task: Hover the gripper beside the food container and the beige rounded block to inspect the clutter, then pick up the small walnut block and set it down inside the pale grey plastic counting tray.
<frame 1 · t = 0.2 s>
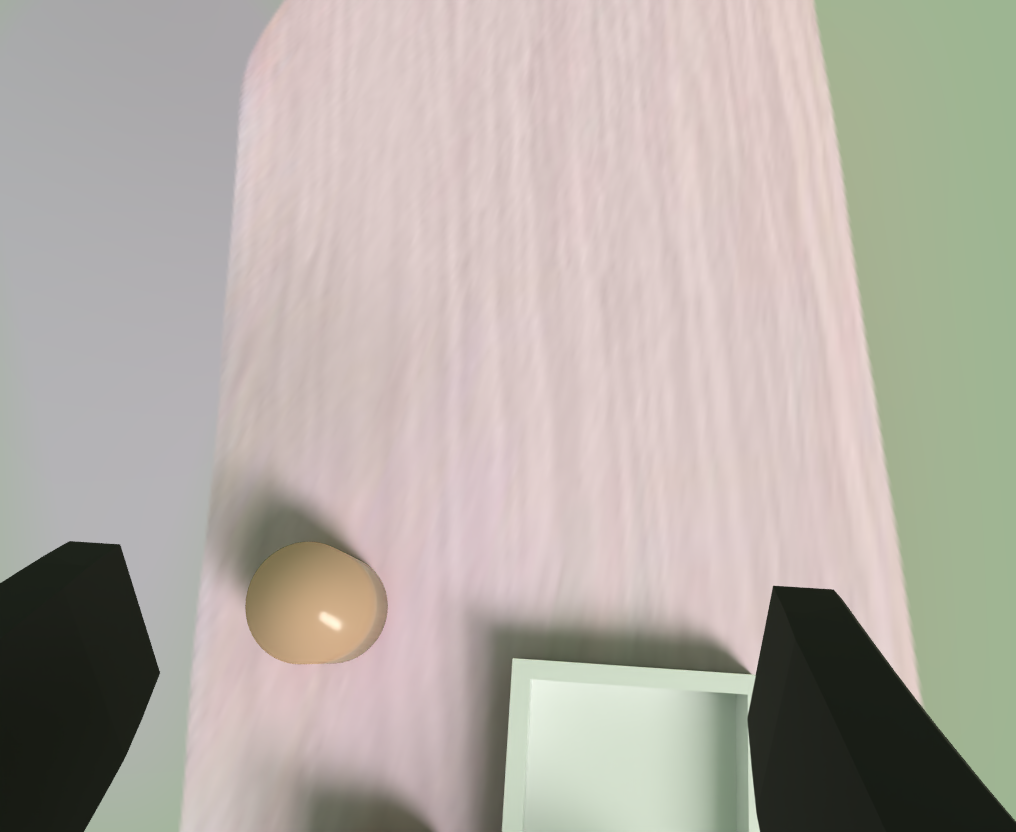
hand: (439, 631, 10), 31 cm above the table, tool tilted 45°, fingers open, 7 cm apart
beige rounded block: (335, 608, 40), on the table
counting tray: (629, 792, 37), on the table
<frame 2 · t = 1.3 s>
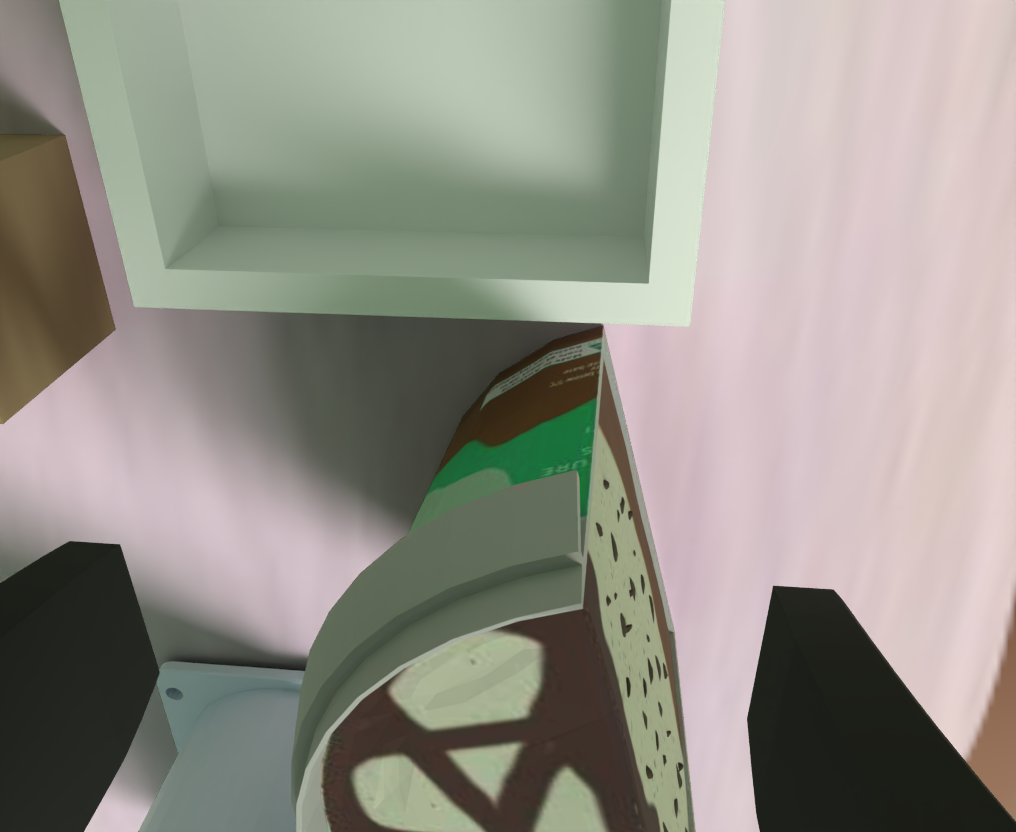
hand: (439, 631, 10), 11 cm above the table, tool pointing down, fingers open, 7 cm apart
food container: (523, 508, 22), on the table
walnut block: (0, 234, 20), on the table
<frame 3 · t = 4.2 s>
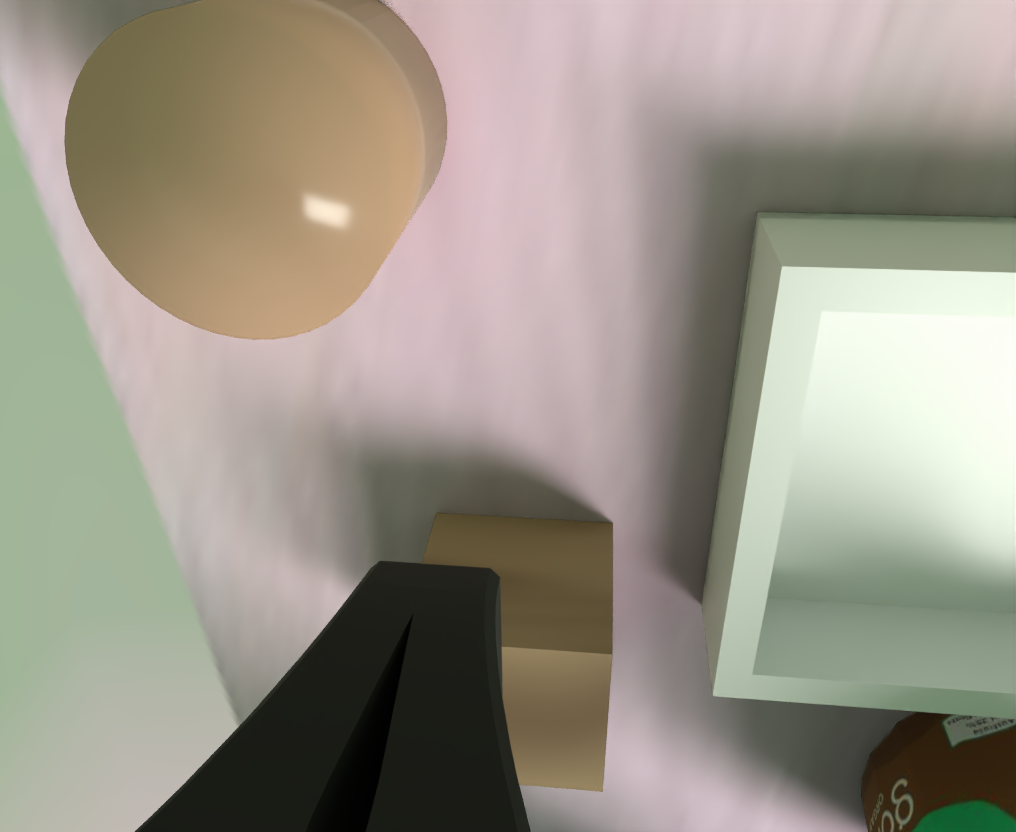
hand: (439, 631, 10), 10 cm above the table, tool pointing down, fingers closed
food container: (926, 783, 25), on the table
beige rounded block: (323, 118, 17), on the table
counting tray: (964, 447, 19), on the table
walnut block: (524, 582, 23), on the table
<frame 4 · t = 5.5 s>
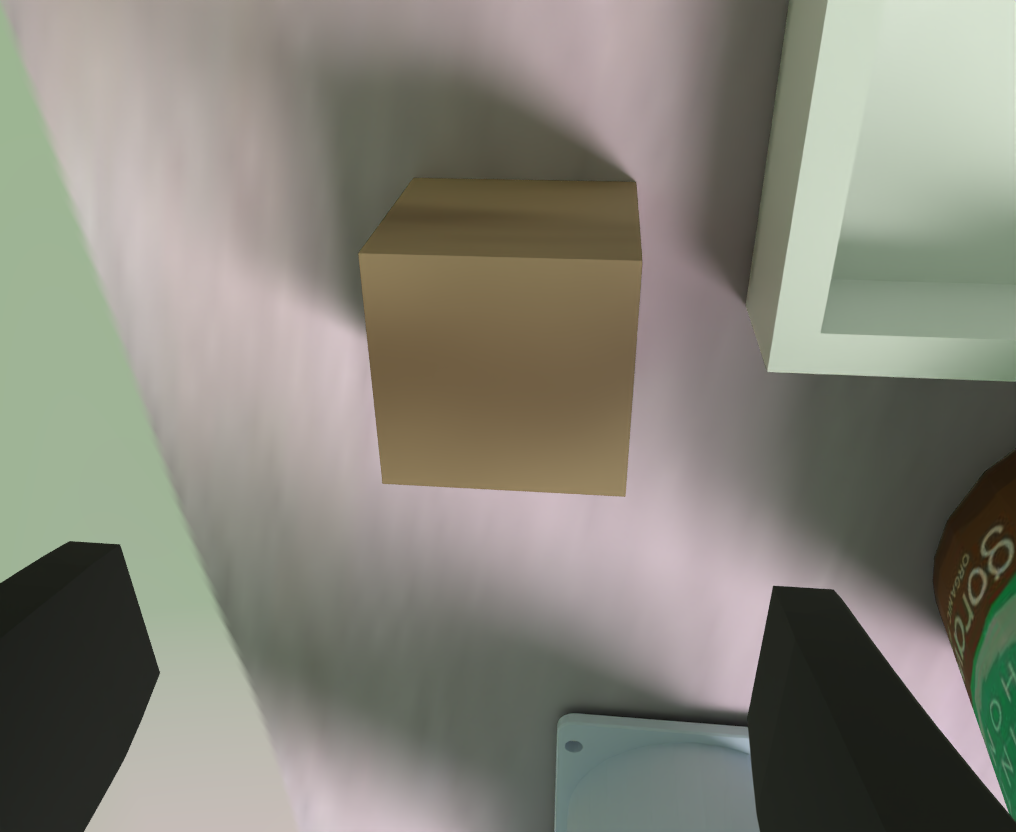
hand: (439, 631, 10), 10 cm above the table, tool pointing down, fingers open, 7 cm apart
food container: (1012, 564, 21), on the table
walnut block: (524, 283, 18), on the table
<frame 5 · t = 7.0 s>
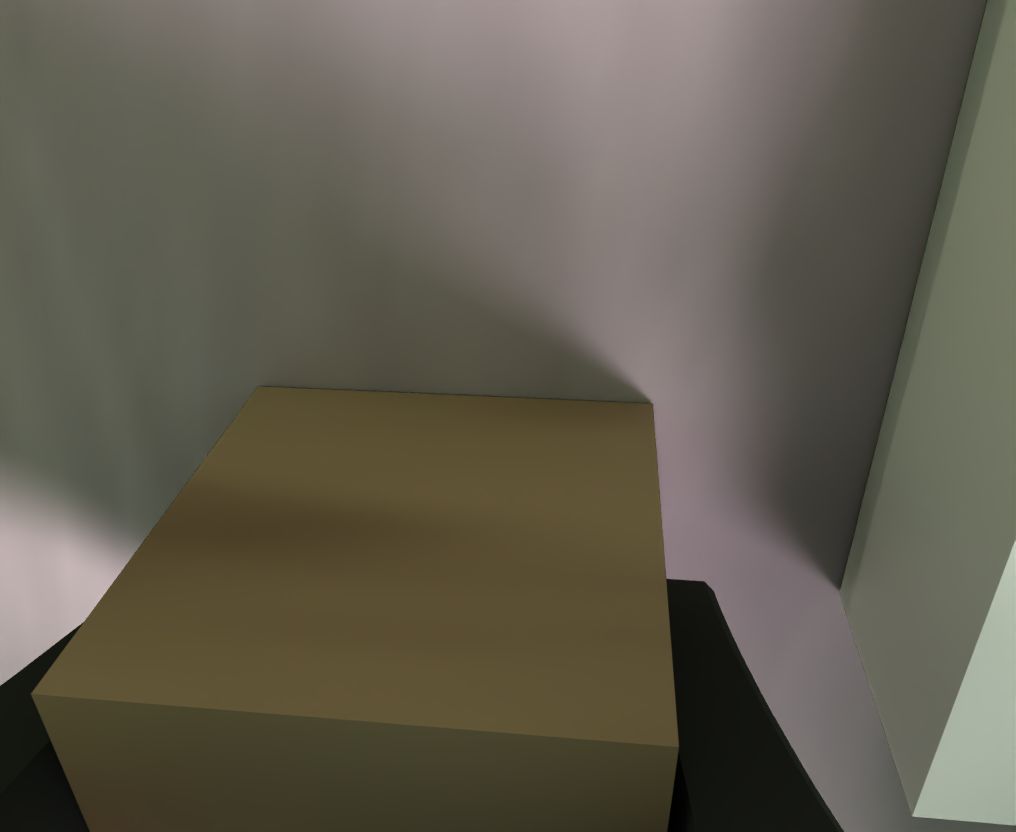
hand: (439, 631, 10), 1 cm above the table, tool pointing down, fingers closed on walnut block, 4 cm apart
walnut block: (459, 550, 11), on the table, touching gripper
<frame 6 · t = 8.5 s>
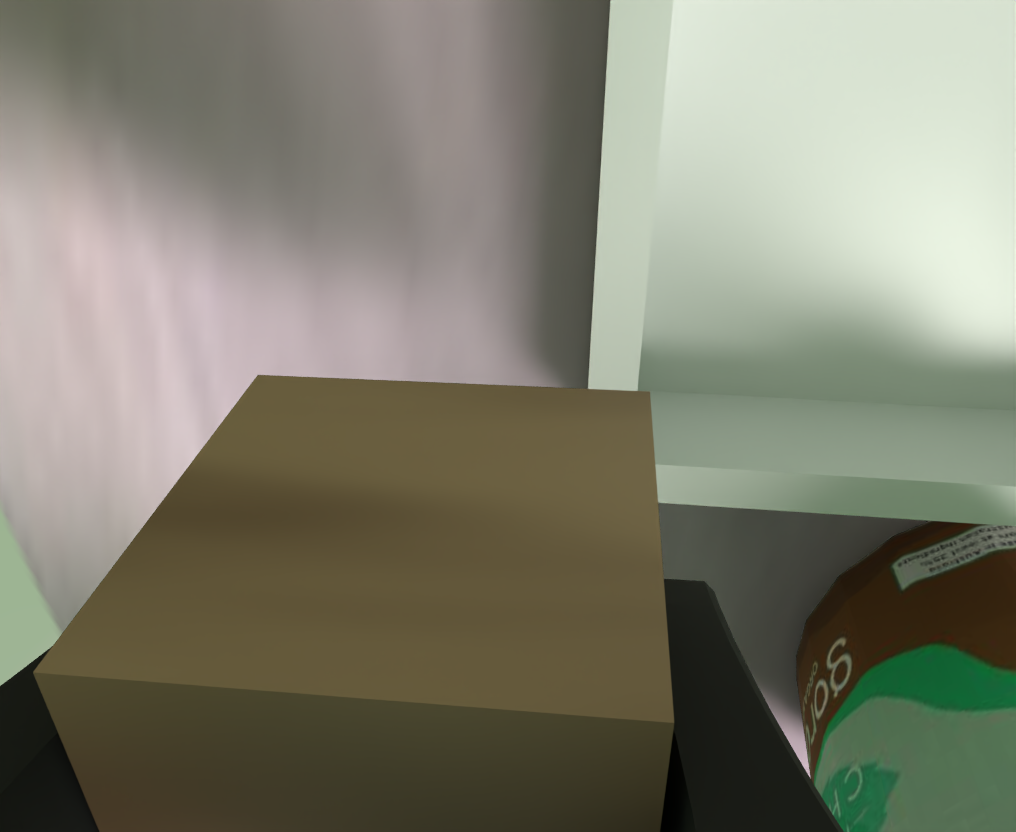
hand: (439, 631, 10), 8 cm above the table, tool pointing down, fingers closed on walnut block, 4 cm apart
food container: (876, 663, 21), on the table
counting tray: (915, 160, 14), on the table
walnut block: (457, 538, 11), point 7 cm above the table, touching gripper
when the fingers open (3 cm above the table, at t = 10.3 s): walnut block drops 1 cm, resting on counting tray.
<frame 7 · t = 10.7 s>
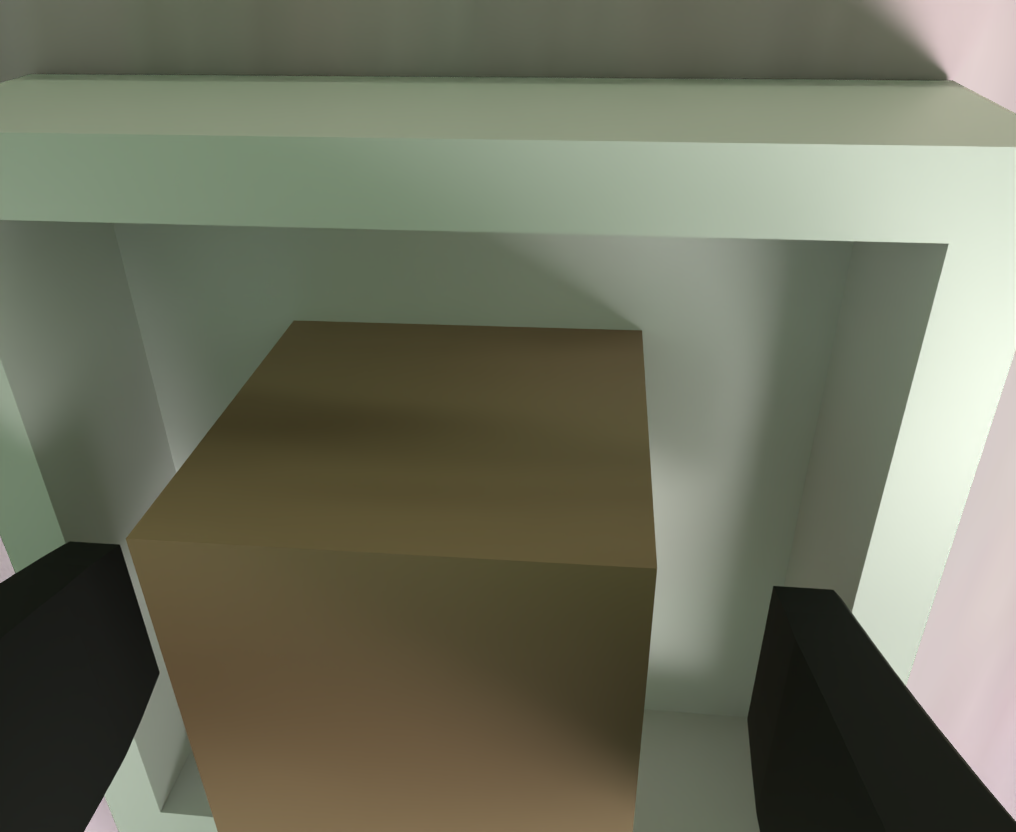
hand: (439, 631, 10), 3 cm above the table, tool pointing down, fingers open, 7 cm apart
counting tray: (480, 462, 12), on the table
walnut block: (471, 470, 12), resting on counting tray
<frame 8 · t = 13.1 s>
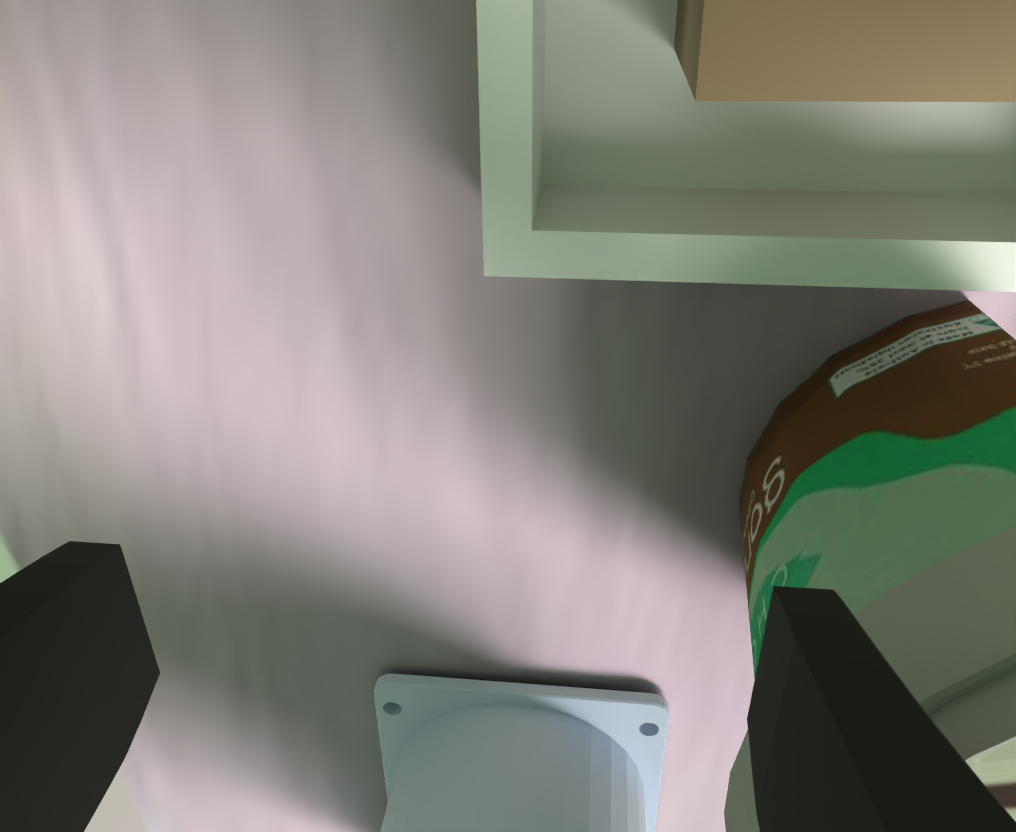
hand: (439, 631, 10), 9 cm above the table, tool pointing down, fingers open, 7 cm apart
food container: (823, 507, 20), on the table
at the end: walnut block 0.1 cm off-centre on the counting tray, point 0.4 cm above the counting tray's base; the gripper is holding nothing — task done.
